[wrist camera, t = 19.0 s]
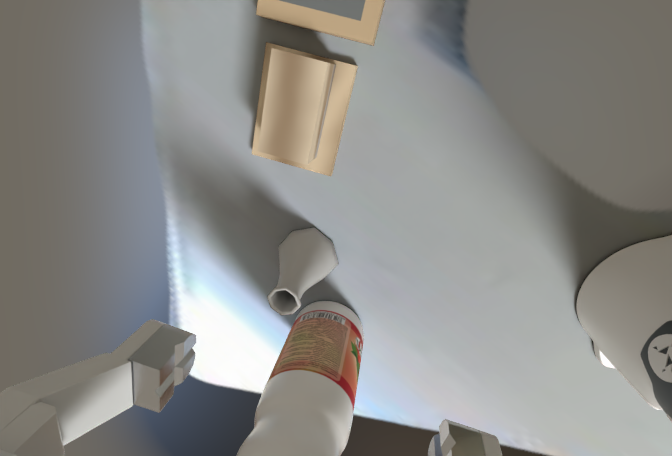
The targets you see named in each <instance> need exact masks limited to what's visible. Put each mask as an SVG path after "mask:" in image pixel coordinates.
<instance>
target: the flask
mask: <svg viewBox="0 0 672 456" xmlns="http://www.w3.org/2000/svg"><path fill="white" fill-rule="evenodd" d="M338 264H339V263H338V259H337V255H336V252H335V248H334V244H333V242H332V241H330V240H329V239H328V238H327V237H326V236H324V235H323V234H322V233H321V232H319V231H318V230H317V229H316V228H315V227H313V228H307V229H301V230H295V231H291V233H290V234H289V235H288V236H287V237H286V239H285V240H284V241H283V242H282V243H281V244H280V246H279V280H278V283H277V287H275V288H274V289H273V290H272V291H271V292H270V293H269V295H268V296H267V298H268V301H269V304H270V306H271V308H272V309H273V310H275V311H276V312H277V313H279V314H280V315H289V314H294V313H295V312H296V311H297V310H298V309H299V308H300V306H301V302H300V299H301V297H302V295H303V293H304V292H305V291H306V290H307V289H309V288H310V287H311V286H313V285H314V284H316V283H318V282H319V281H321V280H322V279H324V278H325V277H326V276H327V275H328V274H329V273H330V272H331V271H332V270H333V269H334V268H335V267H336V266H337V265H338Z"/></svg>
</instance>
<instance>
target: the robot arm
mask: <svg viewBox="0 0 672 456" xmlns="http://www.w3.org/2000/svg"><path fill="white" fill-rule="evenodd" d="M577 315H578V319H579V321H580V323H581V325H582V327H583V328H584V330H585V331H586V332H587V333H588V335H589V336H590V337H591V339H592V340H593V343H594V352H595V356H596V358H597V359H598V360H599V361H600V362H601V363H602V365H604V366H606V367H609V368H615V369H617V370H618V371H619V373H620V374H621V375H622V376H623V377H624V378H625V379H626V380H627V381H628V383H629V384H630V385H631V386H632V387H633V388H634V389H635V390H636V391H637V392H638V393H639V395H640V396H641V397H642V398H643V399H644V400H645V401H646V402H647V403H648V404H649V405H650V406H652V407H653V408H655V409H657V410H658V409H661V410H663V411H665V413H666V414H667V417H668V418H669V419H670V421H671V422H672V235H670V236H666V237H662V238H657V239H652V240H648V241H644V242H640V243H637V244H634V245H631V246H629V247H626V248H624V249H622V250H620V251H618V252H616V253H615V254H613V255H611V256H610V257H608V258H607V259H605V260H604V261H603V262H601V263H600V264H599V265H598V266H597V267H596V268H595V269H594V270H593V271H592V272H591V273H590V274H589V276H588V277H587V278H586V280H585V281H584V283H583V285H582V287H581V289H580V291H579V294H578V298H577ZM195 343H196V335H194V334H192V333H189V332H187V331H184V330H181V329H179V328H176V327H173V326H171V325H168V324H165V323H162V322H159V321H157V320H153V319H151V320H149V321H147V322H146V323H144V324H143V325H142V326H141V327H140V328H139V329H138V330H137V331H136V332H134V333H133V334H132V335H131V336H130V337H129V338H128V339H127V340H126V341H124V342H123V343H122V344H121V345H120V346H119V347H118V348H117V349H116V350H114V351H113V352H112V353H111V354H108V353H104V354H101V355H98V356H95V357H93V358H90V359H87V360H84V361H81V362H79V363H76V364H73V365H70V366H67V367H64V368H62V369H59V370H56V371H53V372H50V373H47V374H45V375H42V376H39V377H36V378H33V379H30V380H28V381H25V382H22V383H19V384H16V385H13V386H11V387H8V388H7V389H5V390H4V391H3V392H2V393H0V456H65V452H64V447H63V446H64V445H66V444H67V443H69V442H71V441H73V440H74V439H76V438H78V437H80V436H81V435H83V434H85V433H86V432H88V431H90V430H92V429H94V428H95V427H97V426H99V425H100V424H102V423H104V422H105V421H107V420H109V419H111V418H113V417H114V416H116V415H118V414H120V413H121V412H123V411H125V410H127V409H128V408H130V407H132V406H133V404H135V405H138V406H141V407H144V408H147V409H150V410H153V411H156V412H159V413H160V411H161V410H162V409H163V407H164V406H165V405H166V403H167V402H168V401H169V400H170V398H171V397H172V395H173V394H174V386H176V385H178V384H180V383H182V382H183V381H184V380H185V378H186V377H187V376H188V374H189V372H190V370H191V368H192V366H193V363H194V359H195V352H194V350H193V349H192V347H193V346H194V345H195ZM439 430H440V433H439V434H437V435H434V437H433V439H432V441H431V443H430V447H429V451H428V456H502V453H501V449H500V445H499V441H498V439H497V437H496V436H494V435H491V434H488V433H485V432H482V431H479V430H477V429H474V428H471V427H468V426H465V425H462V424H459V423H456V422H453V421H449V420H446V419H445V420H443V421H442V423H441V424H440V426H439Z"/></svg>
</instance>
